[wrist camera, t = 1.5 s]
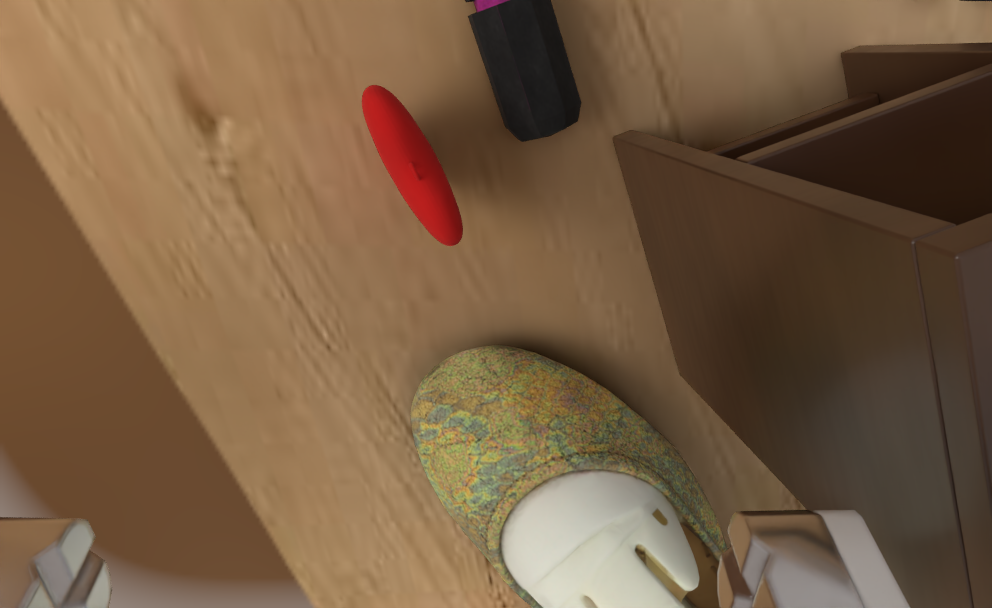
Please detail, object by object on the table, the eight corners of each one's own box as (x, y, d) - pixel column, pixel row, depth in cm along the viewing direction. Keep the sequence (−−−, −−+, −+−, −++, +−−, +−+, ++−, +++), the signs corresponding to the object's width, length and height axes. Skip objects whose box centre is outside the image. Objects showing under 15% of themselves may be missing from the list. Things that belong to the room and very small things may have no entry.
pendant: (465, 209, 28) (481, 239, 24) (427, 229, 29) (436, 264, 24) (390, 71, 27) (392, 74, 22) (350, 93, 27) (343, 101, 22)
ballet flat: (539, 272, 30) (593, 346, 22) (837, 658, 37) (953, 810, 30) (364, 406, 30) (359, 523, 23) (694, 759, 38) (771, 932, 30)
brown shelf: (611, 136, 28) (955, 255, 11) (860, 45, 29) (1558, 28, 12) (679, 375, 32) (1026, 744, 15) (902, 291, 32) (1497, 558, 15)
